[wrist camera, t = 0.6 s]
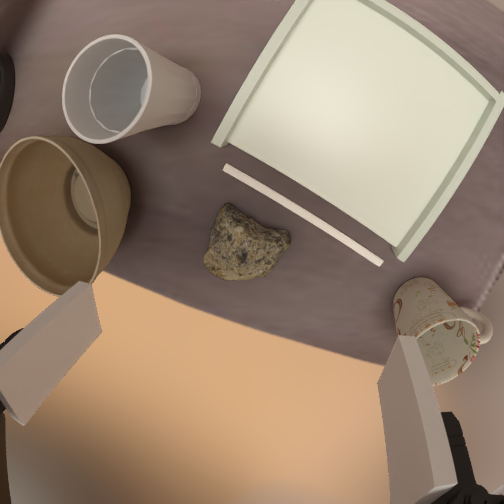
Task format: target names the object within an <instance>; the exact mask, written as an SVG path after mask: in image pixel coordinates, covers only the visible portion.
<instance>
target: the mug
mask: <svg viewBox="0 0 504 504" xmlns="http://www.w3.org/2000/svg"><path fill="white" fill-rule="evenodd" d="M393 312H394V319H395V326H396V333H397V337H398V335H402V336H415V338H416V340H417V343H418V346H419V348H420V351H421V354H422V357H423V360H424V362H425V365H426V368H427V371H428V374H429V377H430V380H431V383H432V386H436V385H440V384H443V383H445V382H448V381H450V380H452V379H453V378H455V377H457V376H458V375H459V374H461V373H462V372H463V371H464V370H465V369H466V368H467V367H468V366H469V365H470V363H471V362H472V361H473V360H474V358H475V356H476V354H477V352H478V350H479V346H480V344H483V343H486V342H488V341H489V340H490V339H491V337H492V334H493V327H492V324H491V323H490V321H489V319H488V318H487V317H486V316H484V315H483V314H482V313H480V312H478V311H475V310H472V309H469V308H465V307H459V306H458V305H457V304H456V303H455V302H454V301H453V300H452V299H451V298H450V297H449V296H448V295H447V294H446V293H445V292H444V291H443V290H442V289H441V288H440V287H439V286H438V285H437V284H436V283H435V282H434V281H433V280H431V279H429V278H425V277H418V278H414V279H411V280H409V281H407V282H405V283H404V284H403V285H402V286H401V287H400V288H399V289H398V291H397V292H396V294H395V296H394V299H393ZM469 316H471V317H473V318H475V319H476V320H478V321H479V322H480V323H481V324H482V326H483V332H482V333H481V334H480V333H479V330H478V328H477V326H476V325H475V323H474V322H473V321H472V320H471V319H470V318H469Z"/></svg>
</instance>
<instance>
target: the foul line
mask: <svg viewBox="0 0 504 504" xmlns="http://www.w3.org/2000/svg"><path fill="white" fill-rule="evenodd" d="M223 171H224V172H226V173H228V174H230V175H232V176H233V177H235V178H237V179H239V180H240V181H242V182H244V183H246V184H247V185H249V186H251V187H252V188H254V189H256V190H258V191H259V192H261V193H263V194H264V195H266V196H268V197H269V198H271V199H273V200H274V201H276V202H278V203H279V204H281V205H283V206H284V207H286V208H288V209H289V210H291V211H293V212H294V213H296V214H298V215H299V216H301V217H303V218H304V219H306V220H307V221H309V222H311V223H312V224H314V225H315V226H317V227H319V228H320V229H322V230H323V231H325V232H327V233H328V234H330V235H331V236H333V237H334V238H336V239H338V240H339V241H341V242H342V243H344V244H345V245H347V246H348V247H350V248H351V249H353V250H355V251H356V252H358V253H359V254H361V255H362V256H364V257H365V258H367V259H368V260H370V261H371V262H373V263H374V264H376V265H377V266H379V267H380V265H381V264H382V263H383V262H384V260H382V259H381V258H379V257H378V256H376V255H375V254H373V253H372V252H370V251H369V250H367V249H366V248H364V247H363V246H361V245H360V244H358V243H357V242H355V241H354V240H352V239H351V238H349V237H348V236H346V235H345V234H343V233H342V232H340V231H339V230H337V229H335V228H334V227H332V226H331V225H329V224H328V223H326V222H325V221H323V220H321V219H320V218H318V217H317V216H315V215H313V214H312V213H310V212H309V211H307V210H305V209H304V208H302V207H300V206H299V205H297V204H296V203H294V202H292V201H291V200H289V199H287V198H286V197H284V196H282V195H281V194H279V193H277V192H276V191H274V190H272V189H271V188H269V187H267V186H266V185H264V184H262V183H260V182H259V181H257V180H255V179H254V178H252V177H250V176H248V175H247V174H245V173H243V172H241V171H240V170H238V169H236V168H234V167H233V166H231V165H229V164H227V163H226V165H225V166H224V168H223Z"/></svg>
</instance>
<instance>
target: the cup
mask: <svg viewBox="0 0 504 504" xmlns="http://www.w3.org/2000/svg"><path fill="white" fill-rule="evenodd" d="M200 99H201V87H200V83H199V81H198V79H197V77H196V76H195V75H194V74H193V73H192V72H191V71H190V70H188V69H186V68H183V67H181V66H179V65H177V64H176V63H174V62H172V61H170V60H169V59H167V58H165V57H163V56H162V55H160V54H158V53H156V52H155V51H153V50H152V49H150V48H148V47H147V46H145V45H143V44H141V43H140V42H138V41H136V40H134V39H132V38H130V37H128V36H125V35H118V34H114V35H107V36H103V37H101V38H98V39H96V40H94V41H93V42H91V43H90V44H88V45H87V46H86V47H85V48H84V49H83V50H82V51H81V52H80V53H79V54H78V55H77V56H76V58H75V59H74V61H73V62H72V64H71V66H70V67H69V70H68V72H67V74H66V77H65V80H64V85H63V91H62V106H63V112H64V115H65V118H66V121H67V123H68V125H69V126H70V128H71V129H72V131H73V132H74V133H75V134H76V135H77V136H78V137H80V138H81V139H83V140H85V141H87V142H90V143H94V144H104V143H109V142H112V141H115V140H118V139H121V138H124V137H127V136H131V135H134V134H136V133H139V132H142V131H145V130H149V129H153V128H157V127H161V126H165V125H175V124H179V123H182V122H184V121H185V120H187V119H188V118H189V117H191V116H192V115H193V113H194V112H195V111H196V109H197V107H198V105H199V102H200Z"/></svg>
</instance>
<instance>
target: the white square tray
mask: <svg viewBox="0 0 504 504" xmlns="http://www.w3.org/2000/svg"><path fill="white" fill-rule="evenodd" d="M503 107H504V93H503V92H502V91H496V90H495V88H494V87H493V86H492V85H491V84H490V83H489V82H488V81H487V80H486V79H485V78H484V77H483V76H482V75H481V74H480V73H479V72H478V71H477V70H475V69H474V68H473V67H472V66H471V65H470V64H469V63H468V62H467V61H466V60H465V59H464V58H462V57H461V56H460V55H459V54H458V53H457V52H455V51H454V50H453V49H452V48H451V47H450V46H448V45H447V44H446V43H445V42H443V41H442V40H441V39H440V38H438V37H437V36H436V35H435V34H433V33H432V32H431V31H429V30H428V29H427V28H425V27H424V26H423V25H421V24H420V23H418V22H417V21H416V20H414V19H413V18H411V17H410V16H408V15H407V14H405V13H404V12H402V11H401V10H399V9H398V8H396V7H395V6H393V5H392V4H390V3H388V2H387V1H385V0H296V1H295V3H294V4H293V6H292V7H291V8H290V10H289V11H288V13H287V14H286V16H285V17H284V19H283V20H282V22H281V23H280V25H279V26H278V28H277V29H276V31H275V33H274V34H273V36H272V37H271V39H270V40H269V42H268V44H267V45H266V47H265V48H264V50H263V52H262V53H261V55H260V56H259V58H258V60H257V61H256V63H255V65H254V66H253V68H252V70H251V71H250V73H249V75H248V76H247V78H246V80H245V81H244V83H243V85H242V87H241V88H240V90H239V92H238V94H237V95H236V97H235V99H234V101H233V102H232V104H231V106H230V108H229V110H228V111H227V113H226V115H225V117H224V119H223V120H222V122H221V124H220V126H219V128H218V130H217V132H216V134H215V135H214V137H213V139H212V141H211V143H213V144H215V145H217V146H219V147H223V146H227V145H228V143H230V144H232V145H234V146H236V147H238V148H240V149H241V150H243V151H245V152H247V153H249V154H250V155H252V156H254V157H256V158H257V159H259V160H261V161H263V162H264V163H266V164H268V165H269V166H271V167H273V168H275V169H276V170H278V171H280V172H281V173H283V174H285V175H286V176H288V177H290V178H291V179H293V180H295V181H296V182H298V183H300V184H301V185H303V186H304V187H306V188H308V189H309V190H311V191H313V192H314V193H316V194H317V195H319V196H320V197H322V198H324V199H325V200H327V201H328V202H330V203H331V204H333V205H334V206H336V207H338V208H339V209H341V210H342V211H344V212H345V213H347V214H348V215H350V216H351V217H353V218H354V219H356V220H357V221H359V222H360V223H362V224H363V225H365V226H366V227H367V228H369V229H370V230H372V231H373V232H375V233H376V234H378V235H379V236H380V237H382V238H383V239H385V240H386V241H388V242H389V243H390V244H392V245H393V246H392V247H391V248H392V250H393V252H394V254H395V255H396V257H397V258H398V259H399V260H401V261H402V262H405V261H406V259H407V258H408V257H409V255H410V254H411V253H412V252H413V250H414V249H415V248H416V246H417V245H418V244H419V242H420V241H421V240H422V238H423V237H424V236H425V234H426V233H427V231H428V230H429V229H430V227H431V226H432V224H433V223H434V222H435V220H436V219H437V217H438V216H439V214H440V213H441V212H442V210H443V209H444V207H445V206H446V204H447V203H448V201H449V200H450V198H451V197H452V195H453V194H454V192H455V191H456V189H457V188H458V186H459V184H460V183H461V181H462V180H463V178H464V177H465V175H466V173H467V172H468V170H469V168H470V167H471V165H472V163H473V162H474V160H475V158H476V157H477V155H478V153H479V152H480V150H481V148H482V146H483V144H484V143H485V141H486V139H487V137H488V135H489V134H490V132H491V130H492V128H493V126H494V124H495V122H496V120H497V119H498V117H499V115H500V113H501V111H502V109H503Z"/></svg>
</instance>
